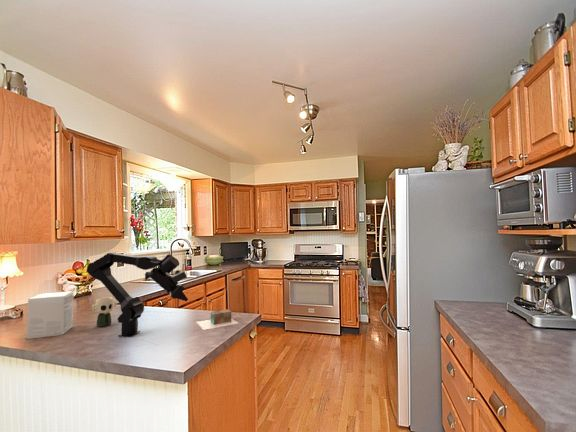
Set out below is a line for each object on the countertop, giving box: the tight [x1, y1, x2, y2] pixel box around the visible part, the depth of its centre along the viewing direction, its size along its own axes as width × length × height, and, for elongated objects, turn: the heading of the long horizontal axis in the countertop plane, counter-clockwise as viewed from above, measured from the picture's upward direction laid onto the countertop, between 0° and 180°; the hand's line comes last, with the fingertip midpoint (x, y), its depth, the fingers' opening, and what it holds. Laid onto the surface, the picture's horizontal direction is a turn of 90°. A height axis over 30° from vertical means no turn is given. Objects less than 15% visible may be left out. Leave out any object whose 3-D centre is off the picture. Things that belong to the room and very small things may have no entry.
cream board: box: [196, 317, 239, 331], centre depth 139 cm, size 17×14×1 cm
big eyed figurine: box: [91, 297, 117, 327], centre depth 140 cm, size 11×7×13 cm, turn 145°
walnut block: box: [210, 308, 232, 325], centre depth 140 cm, size 5×5×9 cm
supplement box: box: [25, 290, 74, 340], centre depth 131 cm, size 13×13×18 cm
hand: (187, 300), depth 133 cm, fingers closed
